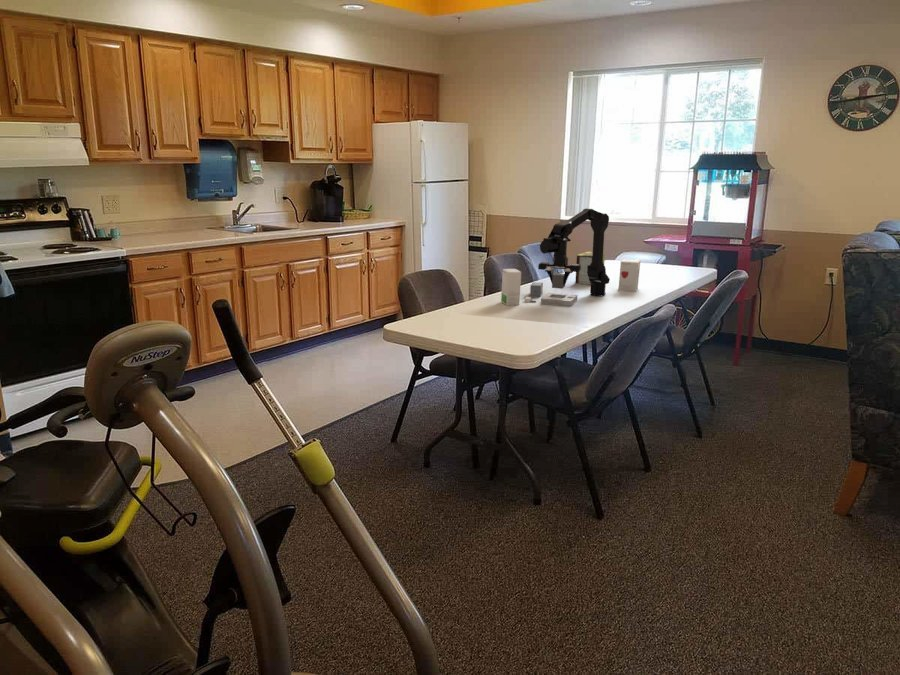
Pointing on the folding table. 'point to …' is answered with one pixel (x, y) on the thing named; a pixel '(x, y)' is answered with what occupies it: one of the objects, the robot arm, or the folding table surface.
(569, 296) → the outlet plate
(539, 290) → the block
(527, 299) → the cable plug
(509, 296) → the skincare box
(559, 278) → the grey block
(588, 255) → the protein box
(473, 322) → the folding table surface
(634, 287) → the supplement box
